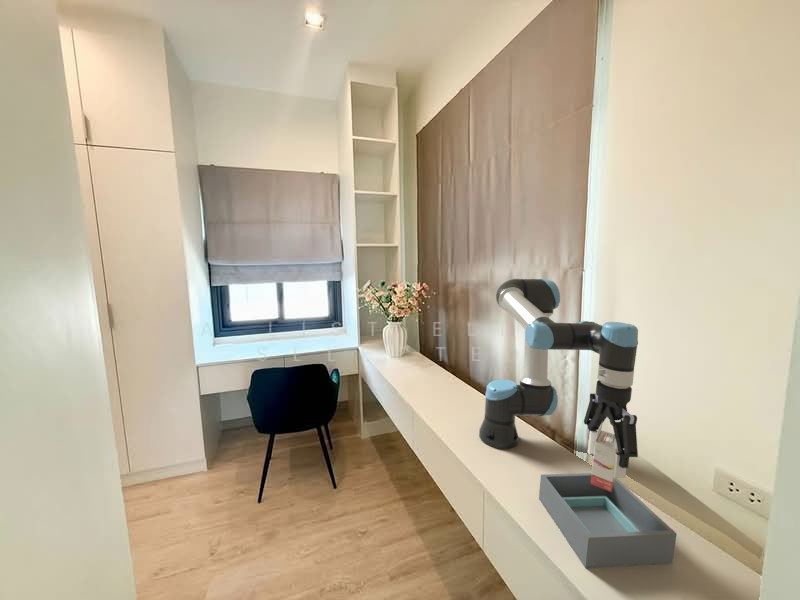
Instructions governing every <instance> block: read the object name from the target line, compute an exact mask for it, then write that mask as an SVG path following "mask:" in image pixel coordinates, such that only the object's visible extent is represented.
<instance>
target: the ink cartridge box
mask: <svg viewBox="0 0 800 600" xmlns="http://www.w3.org/2000/svg"><path fill="white" fill-rule="evenodd" d="M603 424H604V422H603V421H602V423H601V425H600V427H599V429H598V430H597V431H598V432H597V436H596V440H595V447H594V454H593V458H592V465H591V466H592V467H591V468H592V469H591V473H592V476H591V484H593V485H595V486H598V487H600V488H602V489H605V490H607V491H610V492H611V491H612V487H613V484H614V480H615V478H614V477H613V470H614V461H615V452H618V448H617V443H616V438H615V434H614V433H611V432H608V431H605V430H602V427H603Z"/></svg>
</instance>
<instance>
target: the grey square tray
mask: <svg viewBox="0 0 800 600" xmlns="http://www.w3.org/2000/svg"><path fill="white" fill-rule="evenodd" d="M591 476H592V472H584V473H583V472H581V473H550V474H547V473H546V474H540V480H539V482H540V483H539V490H538V491H539V494H538V500H539V502H540V503H541V504H542V505H543V507H544V509H545V510H546V512H547V513H548V515H549V516H550V517H551V519H552V521H553V520H554V521H553V522H554V524H555V523H556V524H555V525H556V527H557V526H558V527H557V528H558V529H560V530H559V531H560V532H561V534H562V536H563V537H564V538H566V539H565V540H566V541H567V543H568V544H569V546H570V547H571V549H572V551H574V554H575V555H576V556H577V558H578V559H579V561H580V562H581V564H582V565H583V567H584V568H586V569H590V568H608V567H609V568H610V567H631V566H646V565H647V566H649V565H664V564H665V565H668V564H669V565H670V564H673V561H674V560H673V559H674V553H675V547H676V540H677V532H676V531H674V529H672V528H671V527H670V526H669V525H668V524H667V523H666V522H664V521H663V519H661V518H660V517H659V515H657V514H656V513H655V512H654V511H653V510H651V508H649V507H648V506H647V505H646V504H645V503H644V502H643V501H642V500H641V499H639V498H638V496H636V495H635V494H634V493H633V492H632V491H631V490H630V489H629V488H628V487H627V486H626V485H624V484H623V483H622V482H621V481H620V480H619V478H615V480H614V484H613V487H612V491H611V492H610V491H607V490H605V489H602V488H600V487H598V486H595V485H593V484H591Z"/></svg>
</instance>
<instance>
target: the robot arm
mask: <svg viewBox="0 0 800 600" xmlns="http://www.w3.org/2000/svg"><path fill="white" fill-rule="evenodd" d="M560 292H561V291H560V289H559V286H557V284H556V283H555V281H553V280H552V279H543V278H538V279H537V278H513V279H511V278H510V279H509V280H506V281H505V282H503V283H502V284H501V285H500V286H499V287H498V289H497V291H496V295H495V298H496V302H497V304H498V306H499V307H500V308H501V309H502V310H503V311H505V312H508V313H509V314H510V315H511V316H512V317H513V318H514V319H515V320H516V321H517V323H518V324H520V325H521V326H522V328H523V329H524V357H523V358H524V360H523V361H524V362H523V363H524V367H523V368H524V369H523V376H522V377H520V379H519V384H517V382H515V381H513V380H510V379H506V378H505V379H503V378H502V379H494V380H492V381H490V382H489V383H488V384H487V386H486V389H485V402H484V404H485V405H484V418H483V420H482V422H481V425H480V427H479V432H478V433H479V434H478V436H479V439H480V440H481V441H482V442H483V443H484V444H485V445H487V446H490V447H492V448H496V449H500V450H501V449H502V450H508V449H513V448H515V447H516V446H518V443H519V434H518V430H517V425H516V417H517V416H522V417H523V416H529V417H530V416H533V417H535V416H537V417H543V416H544V417H546V416H551V415H552V414H554V413H555V411H556V409H557V407H558V401H559V399H558V392H557V390H556V389H555V388H556V387H554V386H553V385H552V382H551V381H550V379H548V367H549V366H548V365H549V364H548V359H549V357H548V356H549V350H550V351H551V350H552V351H553V350H555V351H556V350H557V351H558V350H561V351H563V350H567V351H571V350H572V351H592V352H594V353H597V354H599V357H598V359H599V360H598V370H597V381H596V388H595V393H590V394H589V402H588V405H587V409H586V412H585V414H584V415H585V416H584V419H583V424H584V425H586V426H587V430H588V436H587V437H588V443H587V444H588V445H587V454H588V455H594V447H595V440H596V436H597V432H598V429H599V427H600V425H601V423H602V421H603V423H604V422H605V420H606V419H607V418H608V420H609V423H610V425H611V426H612V428H613V434H615V438H616V443H617V448H618V452H615V461H614V470H613V477H614V478H617V479H625V478H626V475H627V474H626V473H627V469H628V468H629V464H630V463H629V461H630V458H638V457H639V454H638V452H639V451H638V439H637V438H638V437H637V420H638V416H637V415H636V414H631V413H630V412H629V411H628V409H627V408H628V407H627V406H628V403H629V402H631V399H632V392H633V389H632V386H633V384H634V374H635V365H636V358H637V357H636V356H637V349H638V345H639V337H638V336H639V329H638V327H637V326H635V325H634V324H630V323H625V322H618V321H606V322H604V323H603V325H602V324H599V323H598V322H595V321H589V320H581V321H579V322H571V323H570V322H555V321H554V320H552V319H551V318H550V317H551V316H552V315H554V310H555V309H558V307H559V306H560V302H561V293H560Z"/></svg>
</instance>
